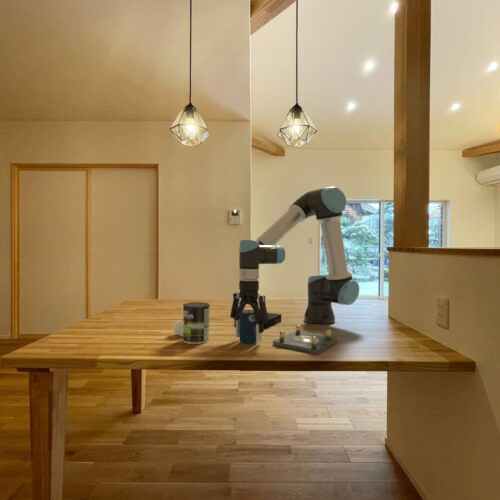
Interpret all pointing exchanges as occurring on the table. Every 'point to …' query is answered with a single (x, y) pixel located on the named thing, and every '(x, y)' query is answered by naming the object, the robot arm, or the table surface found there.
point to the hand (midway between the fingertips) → (248, 338)
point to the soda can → (248, 327)
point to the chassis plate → (305, 341)
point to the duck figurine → (178, 327)
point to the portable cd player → (272, 319)
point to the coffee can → (196, 323)
